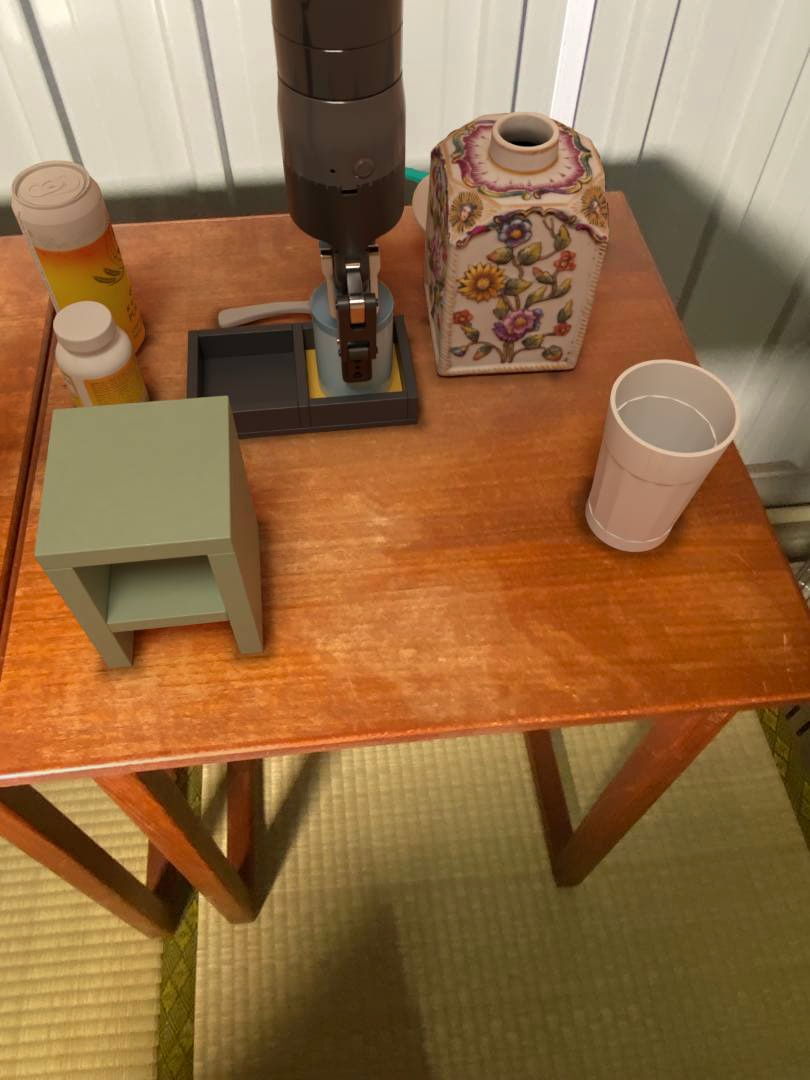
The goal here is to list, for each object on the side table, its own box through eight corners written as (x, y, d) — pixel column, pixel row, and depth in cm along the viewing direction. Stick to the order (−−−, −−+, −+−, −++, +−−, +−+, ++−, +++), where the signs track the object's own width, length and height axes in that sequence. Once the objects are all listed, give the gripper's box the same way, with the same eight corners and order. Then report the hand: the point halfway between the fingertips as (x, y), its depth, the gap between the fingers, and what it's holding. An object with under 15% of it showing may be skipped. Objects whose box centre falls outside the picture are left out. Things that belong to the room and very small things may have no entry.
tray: (194, 442, 65) (186, 416, 63) (195, 358, 70) (187, 329, 67) (417, 424, 67) (418, 397, 64) (403, 342, 71) (403, 314, 69)
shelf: (109, 669, 55) (33, 556, 43) (117, 540, 60) (52, 408, 48) (263, 652, 56) (230, 537, 44) (258, 527, 61) (228, 394, 49)
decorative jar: (577, 374, 70) (630, 176, 54) (437, 381, 69) (451, 184, 54) (550, 277, 76) (591, 76, 61) (422, 283, 75) (431, 81, 60)
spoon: (360, 325, 72) (358, 307, 71) (222, 342, 72) (216, 325, 70) (358, 302, 74) (355, 284, 72) (222, 318, 74) (216, 300, 72)
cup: (657, 464, 65) (707, 350, 55) (700, 549, 61) (763, 443, 51) (559, 483, 64) (591, 370, 54) (596, 571, 60) (639, 467, 49)
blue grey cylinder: (319, 410, 66) (312, 334, 59) (314, 355, 69) (307, 276, 63) (397, 404, 67) (398, 328, 60) (388, 349, 70) (388, 271, 63)
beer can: (159, 351, 70) (110, 190, 58) (90, 380, 68) (24, 221, 56) (129, 308, 73) (75, 147, 60) (61, 336, 71) (-8, 174, 58)
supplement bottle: (70, 428, 66) (26, 336, 58) (104, 380, 68) (66, 286, 60) (132, 445, 65) (96, 355, 57) (164, 396, 68) (134, 303, 60)
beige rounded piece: (399, 211, 70) (392, 226, 80) (450, 250, 71) (436, 259, 81) (436, 156, 69) (424, 178, 79) (487, 197, 70) (468, 213, 80)
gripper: (275, 81, 54) (298, 287, 69) (286, 222, 47) (310, 422, 61) (391, 75, 55) (390, 281, 69) (421, 214, 47) (413, 413, 61)
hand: (353, 346), depth 65 cm, fingers closed on blue grey cylinder, 6 cm apart
